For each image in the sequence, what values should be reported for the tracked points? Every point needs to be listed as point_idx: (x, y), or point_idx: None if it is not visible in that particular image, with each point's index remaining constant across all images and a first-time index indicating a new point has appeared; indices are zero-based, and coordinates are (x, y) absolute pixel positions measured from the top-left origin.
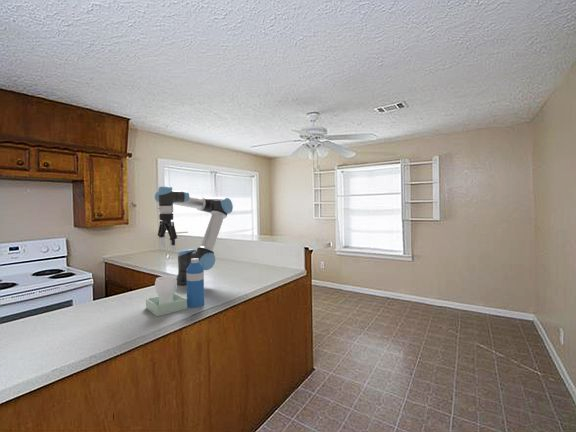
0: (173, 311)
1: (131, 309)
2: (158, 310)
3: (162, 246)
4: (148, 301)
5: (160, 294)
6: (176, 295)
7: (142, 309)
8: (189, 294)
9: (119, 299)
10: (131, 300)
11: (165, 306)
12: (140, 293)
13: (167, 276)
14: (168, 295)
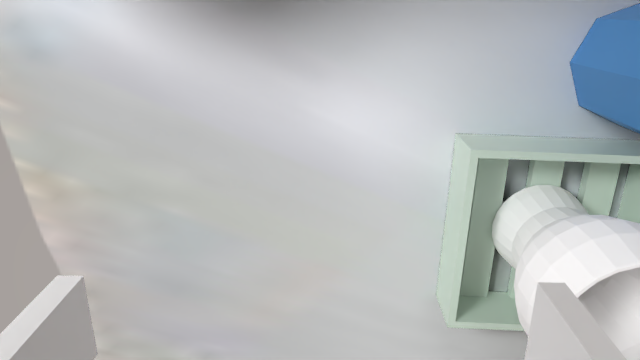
0: None
1: (389, 346)
2: None
3: (73, 344)
4: (491, 326)
5: (599, 319)
6: (520, 157)
7: (436, 311)
8: None
9: (161, 334)
10: (229, 298)
11: None
12: (112, 214)
13: (575, 295)
14: (626, 274)
